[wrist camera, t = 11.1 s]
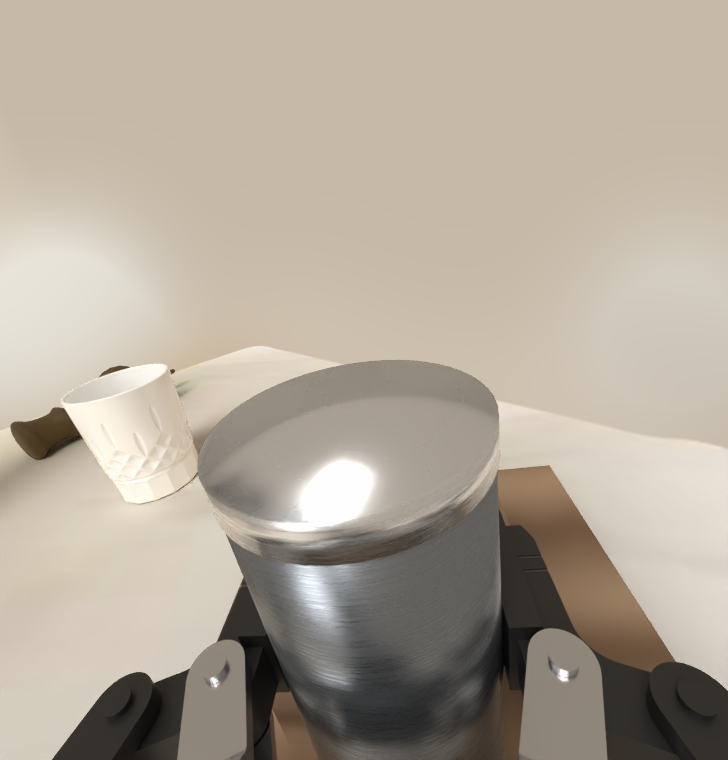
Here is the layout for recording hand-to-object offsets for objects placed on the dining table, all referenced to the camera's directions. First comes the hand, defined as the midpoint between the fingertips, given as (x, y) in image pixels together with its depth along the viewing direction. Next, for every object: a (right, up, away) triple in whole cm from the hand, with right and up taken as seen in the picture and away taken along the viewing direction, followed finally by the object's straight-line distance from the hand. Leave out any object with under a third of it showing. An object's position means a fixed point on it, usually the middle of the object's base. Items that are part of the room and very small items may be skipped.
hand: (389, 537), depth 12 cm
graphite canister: (+1, -8, +1) cm, 8 cm away
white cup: (-19, -4, +22) cm, 30 cm away
